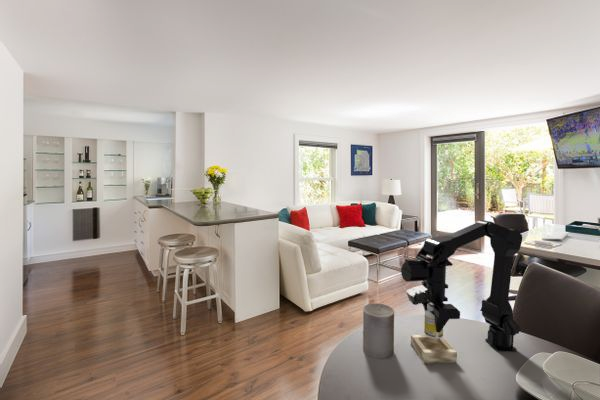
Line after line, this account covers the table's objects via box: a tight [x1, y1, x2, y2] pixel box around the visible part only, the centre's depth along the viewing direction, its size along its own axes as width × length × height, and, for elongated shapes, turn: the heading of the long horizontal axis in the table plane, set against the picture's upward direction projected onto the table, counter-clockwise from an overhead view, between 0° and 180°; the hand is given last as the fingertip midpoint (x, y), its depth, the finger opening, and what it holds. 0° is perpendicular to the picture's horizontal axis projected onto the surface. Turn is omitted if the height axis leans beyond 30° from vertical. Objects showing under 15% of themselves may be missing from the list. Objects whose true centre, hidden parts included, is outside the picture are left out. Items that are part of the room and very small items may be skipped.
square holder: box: [410, 334, 458, 364], centre depth 93 cm, size 10×10×3 cm
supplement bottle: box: [423, 303, 444, 339], centre depth 92 cm, size 5×5×10 cm
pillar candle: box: [362, 302, 395, 360], centre depth 94 cm, size 10×10×15 cm
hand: (433, 327), depth 93 cm, fingers closed on supplement bottle, 5 cm apart
